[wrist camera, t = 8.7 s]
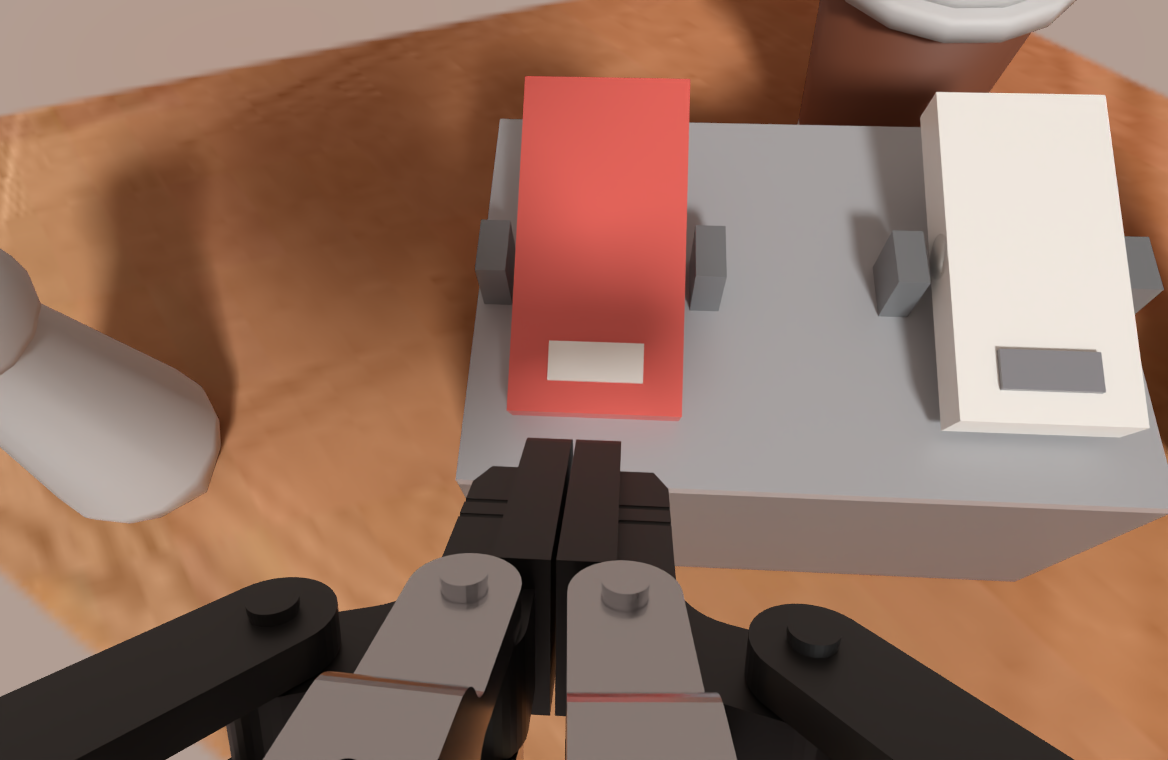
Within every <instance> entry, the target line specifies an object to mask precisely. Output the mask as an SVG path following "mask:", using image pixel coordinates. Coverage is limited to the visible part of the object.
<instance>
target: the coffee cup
mask: <svg viewBox="0 0 1168 760" xmlns="http://www.w3.org/2000/svg"><path fill="white" fill-rule="evenodd" d="M1075 1H1076V0H820V3H819V9H818V14H817V20H816V25H815V31H814V37H813V42H812V48H811V53H810V59H809V65H808V70H807V76H806V81H805V87H804V93H803V98H802V104H801V109H800V115H799V120H798V123H797V125H832V126H881V127H921V123H920V117H921V115H922V114H923V112H924V111H925V109H926V107H927V106H928V104H929V103H930V101H931V100H932V98H933V96H934V95H935V93H936V92H964V93H989V92H990V90H991V89H992V87H993V86H994V84H995V83H996V82H997V80H998V79H999V77H1000V76H1001V75H1002V73H1003V72H1004V70H1005V69H1006V67H1007V66H1008V65H1009V63H1010V62H1011V60H1012V59H1013V57H1014V56H1015V55H1016V53H1017V52H1018V50H1019V49H1020V48H1021V46H1022V45H1023V43H1024V42H1025V40H1026V39H1027V38H1028V36H1029V35H1030V33H1031V32H1034V31H1036V30H1039V29H1042V28H1045V27H1048V26H1049V25H1050V24H1051V23H1053V22H1054V21H1055V20H1056V19H1057V18H1058V17H1059V16H1060V15H1061V14H1062V13H1063V12H1064V11H1065V10H1066V9H1068V8H1069V7H1070V6H1071V5H1072V4H1073V3H1074V2H1075Z"/></svg>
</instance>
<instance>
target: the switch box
mask: <svg viewBox="0 0 1168 760" xmlns="http://www.w3.org/2000/svg"><path fill="white" fill-rule="evenodd" d="M522 124H523V119H500V124H499V132H498V140H497V148H496V156H495V164H494V172H493V181H492V189H491V197H490V205H489V213H488V220H481V225H480V233H479V241H478V249H477V256H476V264H475V272H476V276H477V279H478V283H479V294H478V302H477V310H476V319H475V327H474V335H473V343H472V351H471V359H470V367H469V375H468V384H467V392H466V400H465V408H464V416H463V424H462V432H461V440H460V448H459V457H458V465H457V473H456V481H457V483H458V484H459V486H460V488H461V490H462V492H463V494H464V495H465V497H467V495H468V492H469V490H470V487H471V485H472V482H473V480H475V479H476V478H477V477H479V476H480V475H481V474H483V473H484V472H485V471H486V470H488V469H489V468H490V467H492V466H505V467H518V466H519V462H520V459H521V456H522V452H523V449H524V446H525V442H526V439H527V438H552V439H573V455H574V449H575V443H576V439H580V440H605V441H621V464H620V471H626V472H650V473H654V474H655V475H656V476H657V477H658V478H659V479H660V480H661V481H662V482H663V483H664V485H665V486H666V487H667V488H668V490H669V502H670V514H671V526H672V539H673V551H674V563H675V566H687V567H709V568H731V569H753V570H774V571H796V572H818V573H840V574H861V575H883V576H905V577H927V578H949V579H970V580H992V581H1014V582H1015V581H1017V580H1020V579H1022V578H1024V577H1026V576H1029V575H1031V574H1033V573H1036V572H1038V571H1040V570H1042V569H1045V568H1047V567H1049V566H1051V565H1054V564H1056V563H1058V562H1061V561H1063V560H1065V559H1067V558H1070V557H1072V556H1074V555H1076V554H1079V553H1081V552H1083V551H1086V550H1088V549H1090V548H1092V547H1095V546H1097V545H1099V544H1102V543H1104V542H1106V541H1108V540H1111V539H1113V538H1115V537H1117V536H1120V535H1122V534H1124V533H1127V532H1129V531H1131V530H1133V529H1136V528H1138V527H1140V526H1142V525H1145V524H1147V523H1149V522H1152V521H1154V520H1156V519H1158V518H1161V517H1163V516H1165V515H1167V514H1168V464H1167V461H1166V457H1165V453H1164V449H1163V445H1162V441H1161V438H1160V434H1159V430H1158V426H1157V422H1156V418H1155V415H1154V411H1153V407H1152V403H1151V399H1150V395H1149V392H1148V388H1147V384H1146V380H1145V376H1144V372H1143V369H1142V373H1143V381H1144V388H1145V396H1146V403H1147V411H1148V418H1149V426H1150V428H1148V429H1145V430H1142V431H1139V432H1136V433H1133V434H1129V435H1126V436H1123V437H1120V438H1117V437H1090V436H1063V435H1037V434H1010V433H983V432H957V431H941V423H940V408H939V393H938V378H937V363H936V348H935V333H934V318H933V303H932V288H931V273H930V258H929V243H928V228H927V213H926V198H925V183H924V168H923V153H922V138H921V127H881V126H832V125H782V124H733V123H689V150H688V191H687V231H686V272H685V312H684V352H683V393H682V417H681V419H680V420H679V421H658V420H632V419H605V418H578V417H552V416H525V415H512V414H510V413H509V412H508V411H507V394H508V376H509V358H510V340H511V322H512V304H513V286H514V268H515V250H516V232H517V214H518V196H519V178H520V160H521V142H522ZM1124 238H1125V246H1126V253H1127V261H1128V268H1129V276H1130V283H1131V291H1132V298H1133V306H1134V313H1135V314H1136V313H1137V312H1138V311H1139V310H1140V309H1142V308H1143V307H1144V306H1145V305H1146V304H1148V303H1149V302H1150V301H1151V300H1152V299H1153V298H1155V297H1156V296H1157V295H1158V294H1159V293H1161V292H1162V291H1163V290H1164V288H1163V285H1162V281H1161V278H1160V274H1159V271H1158V267H1157V264H1156V260H1155V257H1154V253H1153V250H1152V246H1151V243H1150V239H1149V237H1128V236H1124ZM1141 366H1142V365H1141Z"/></svg>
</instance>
